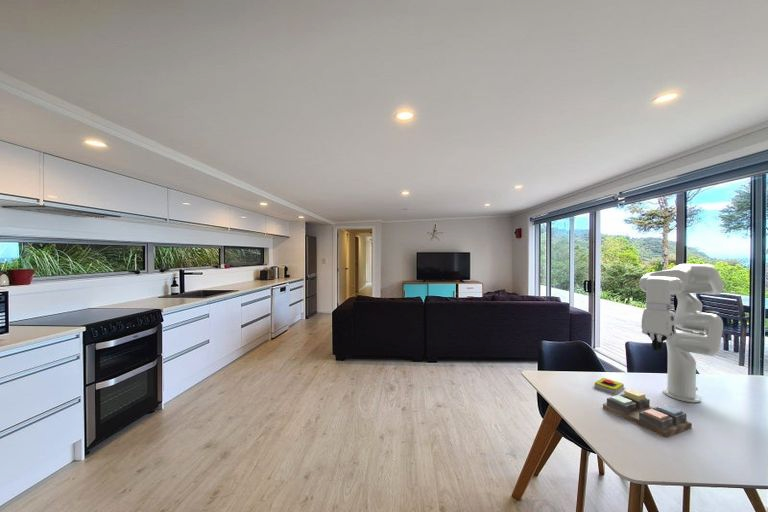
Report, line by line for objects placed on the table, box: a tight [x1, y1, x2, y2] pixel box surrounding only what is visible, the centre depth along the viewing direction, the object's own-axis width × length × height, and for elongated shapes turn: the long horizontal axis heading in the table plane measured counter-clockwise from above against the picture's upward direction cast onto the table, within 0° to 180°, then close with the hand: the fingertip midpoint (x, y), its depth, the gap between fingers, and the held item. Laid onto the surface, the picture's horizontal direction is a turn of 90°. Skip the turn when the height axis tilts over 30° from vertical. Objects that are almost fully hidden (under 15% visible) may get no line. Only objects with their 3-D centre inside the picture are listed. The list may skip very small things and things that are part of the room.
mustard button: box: [623, 388, 646, 401], centre depth 128 cm, size 5×5×3 cm
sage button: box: [611, 394, 632, 405], centre depth 125 cm, size 5×5×3 cm
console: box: [602, 393, 693, 438], centre depth 121 cm, size 17×22×5 cm
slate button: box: [657, 404, 683, 416], centre depth 117 cm, size 5×5×3 cm
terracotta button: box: [644, 409, 668, 421], centre depth 114 cm, size 5×5×3 cm
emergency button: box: [593, 377, 626, 397], centre depth 148 cm, size 9×4×15 cm
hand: (657, 350), depth 124 cm, fingers closed
